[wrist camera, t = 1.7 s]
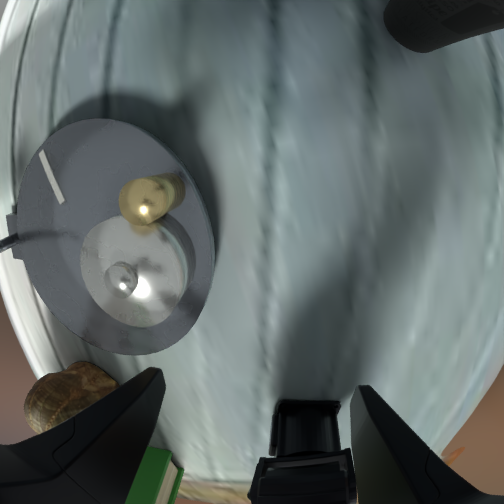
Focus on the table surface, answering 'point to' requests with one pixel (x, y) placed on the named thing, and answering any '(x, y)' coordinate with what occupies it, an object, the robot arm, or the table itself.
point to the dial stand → (11, 237)
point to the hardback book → (155, 479)
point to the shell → (65, 395)
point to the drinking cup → (441, 21)
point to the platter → (100, 209)
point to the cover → (138, 268)
